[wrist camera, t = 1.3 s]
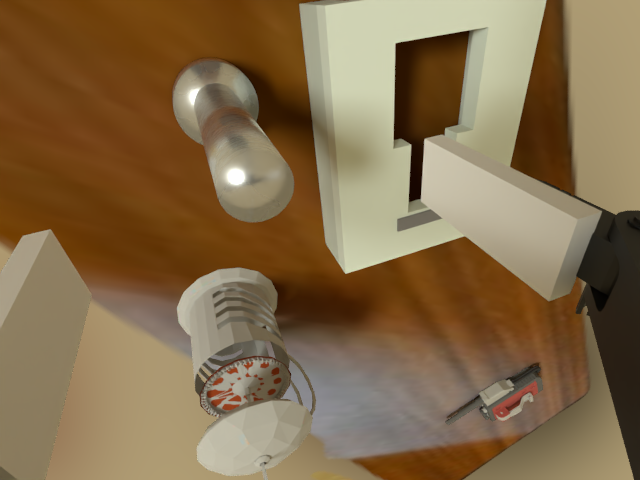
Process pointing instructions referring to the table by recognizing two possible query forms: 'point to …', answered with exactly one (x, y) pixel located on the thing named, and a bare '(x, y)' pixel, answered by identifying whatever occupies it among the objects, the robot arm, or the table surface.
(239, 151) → the steel peg
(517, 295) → the table surface
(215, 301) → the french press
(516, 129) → the keyhole board
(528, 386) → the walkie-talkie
